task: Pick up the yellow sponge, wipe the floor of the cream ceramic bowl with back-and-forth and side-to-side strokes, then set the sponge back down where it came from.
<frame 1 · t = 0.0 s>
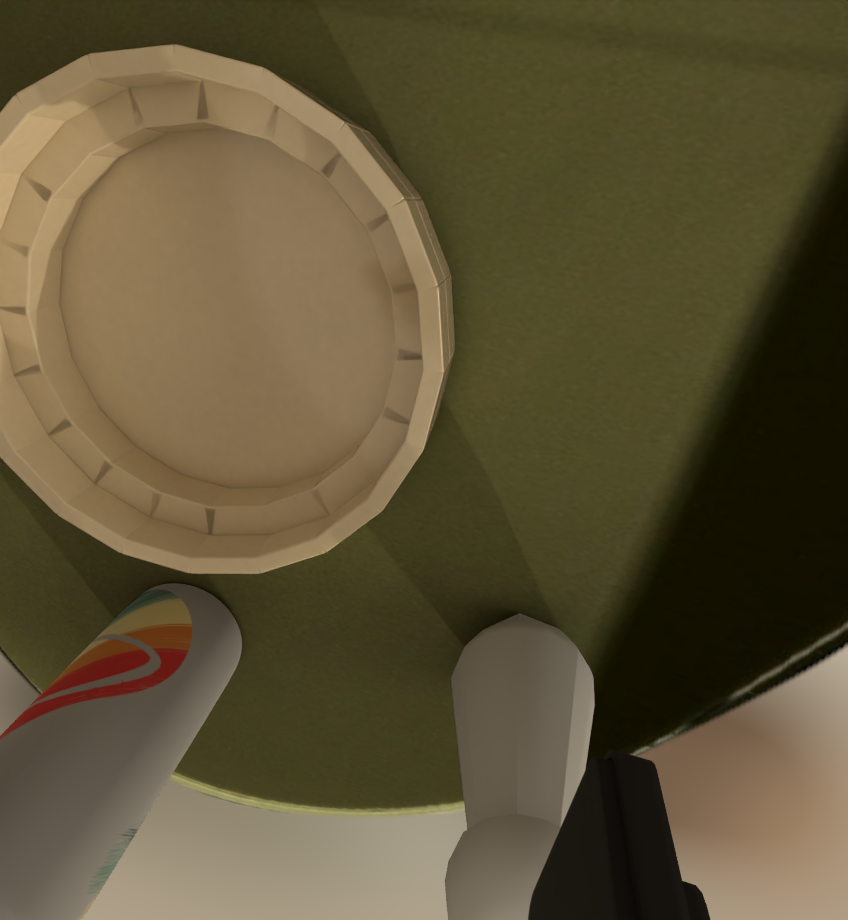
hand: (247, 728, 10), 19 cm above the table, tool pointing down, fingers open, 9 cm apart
striped bottle: (188, 631, 34), on the table
bowl: (233, 321, 28), on the table
salt shaker: (522, 652, 32), on the table
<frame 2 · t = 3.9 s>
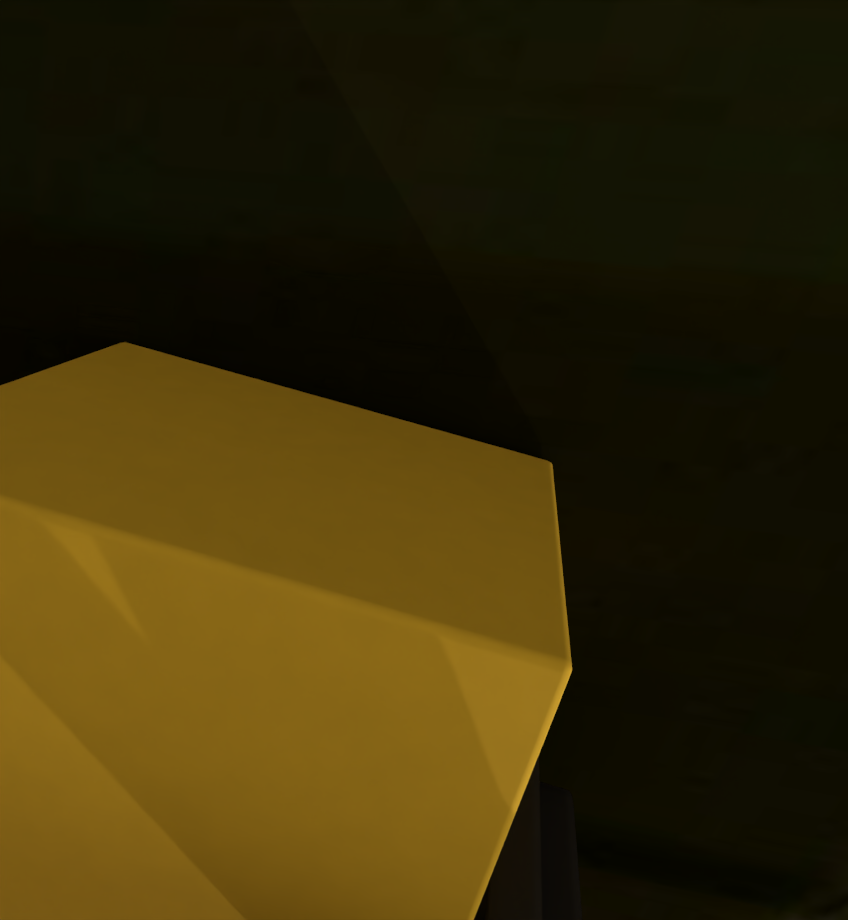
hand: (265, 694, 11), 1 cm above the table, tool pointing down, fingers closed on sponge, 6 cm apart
sponge: (279, 668, 11), on the table, touching gripper
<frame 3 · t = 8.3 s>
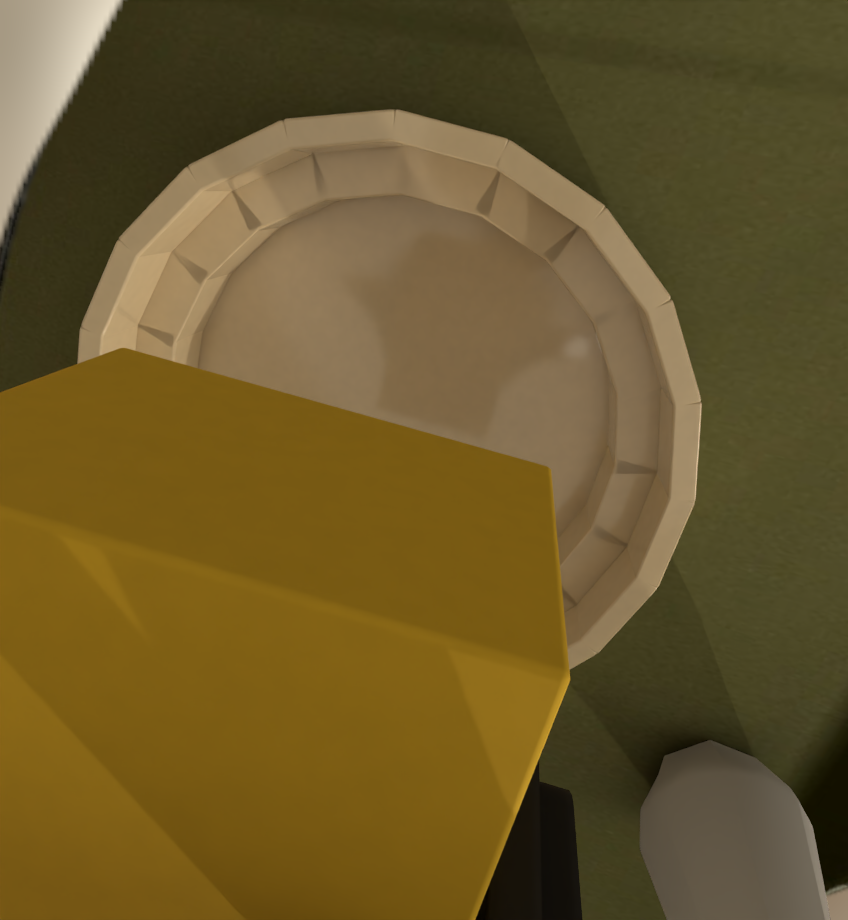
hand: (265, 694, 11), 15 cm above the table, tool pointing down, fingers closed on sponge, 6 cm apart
sponge: (278, 673, 11), point 14 cm above the table, touching gripper
bowl: (398, 412, 24), on the table
salt shaker: (706, 780, 28), on the table
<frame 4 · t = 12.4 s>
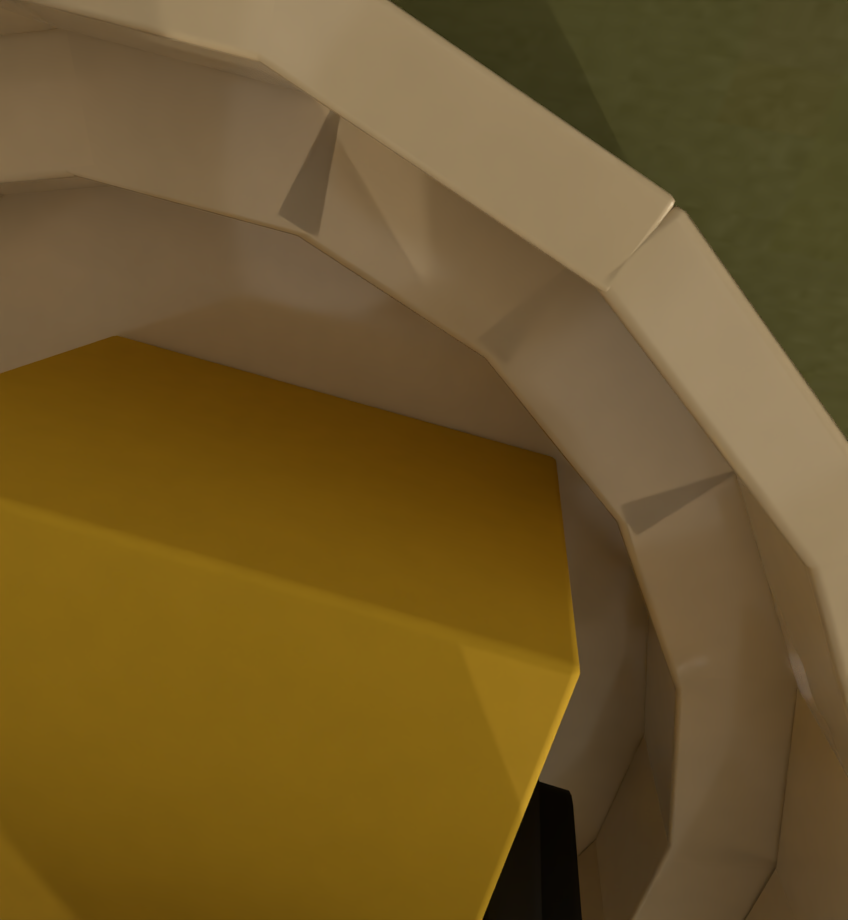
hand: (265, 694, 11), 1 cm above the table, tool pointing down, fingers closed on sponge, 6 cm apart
sponge: (275, 671, 11), point 1 cm above the table, touching gripper
bowl: (202, 640, 12), on the table
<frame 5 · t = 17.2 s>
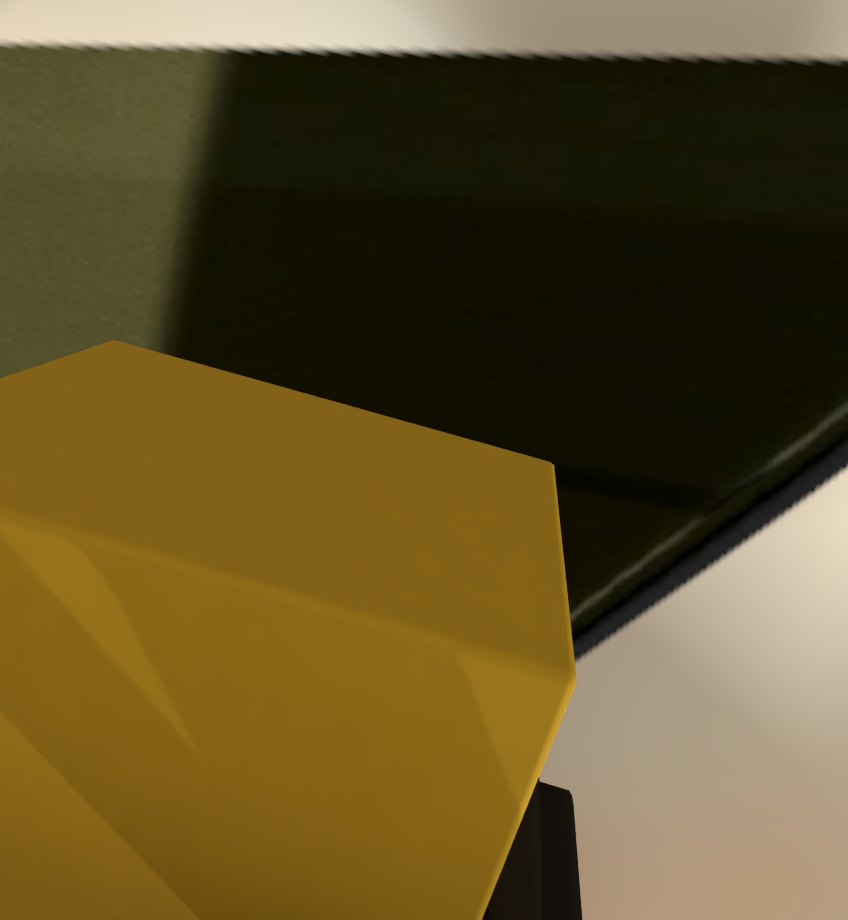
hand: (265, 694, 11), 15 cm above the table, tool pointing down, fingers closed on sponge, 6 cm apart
sponge: (274, 675, 11), point 15 cm above the table, touching gripper
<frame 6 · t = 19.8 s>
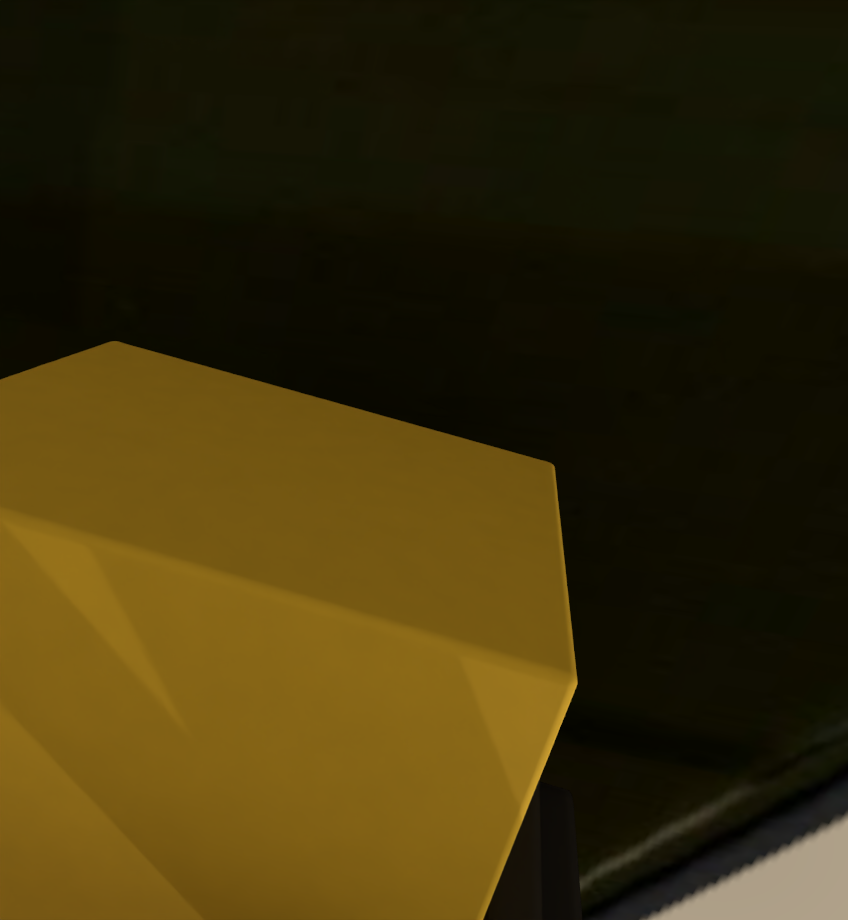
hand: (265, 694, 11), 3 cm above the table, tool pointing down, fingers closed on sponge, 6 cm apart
sponge: (274, 675, 11), point 3 cm above the table, touching gripper
when the fingers open (0 cm above the table, at t = 21.1 s): sponge stays where it is, on the table.
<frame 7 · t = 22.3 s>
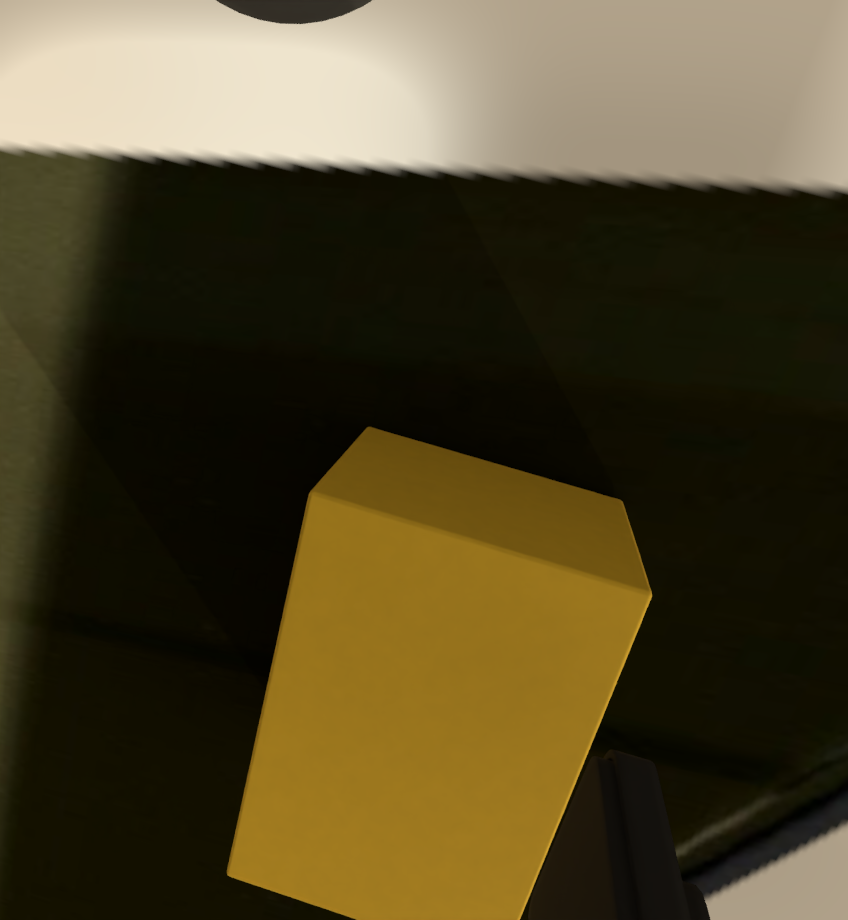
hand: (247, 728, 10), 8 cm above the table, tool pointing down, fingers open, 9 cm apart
sponge: (443, 628, 18), on the table
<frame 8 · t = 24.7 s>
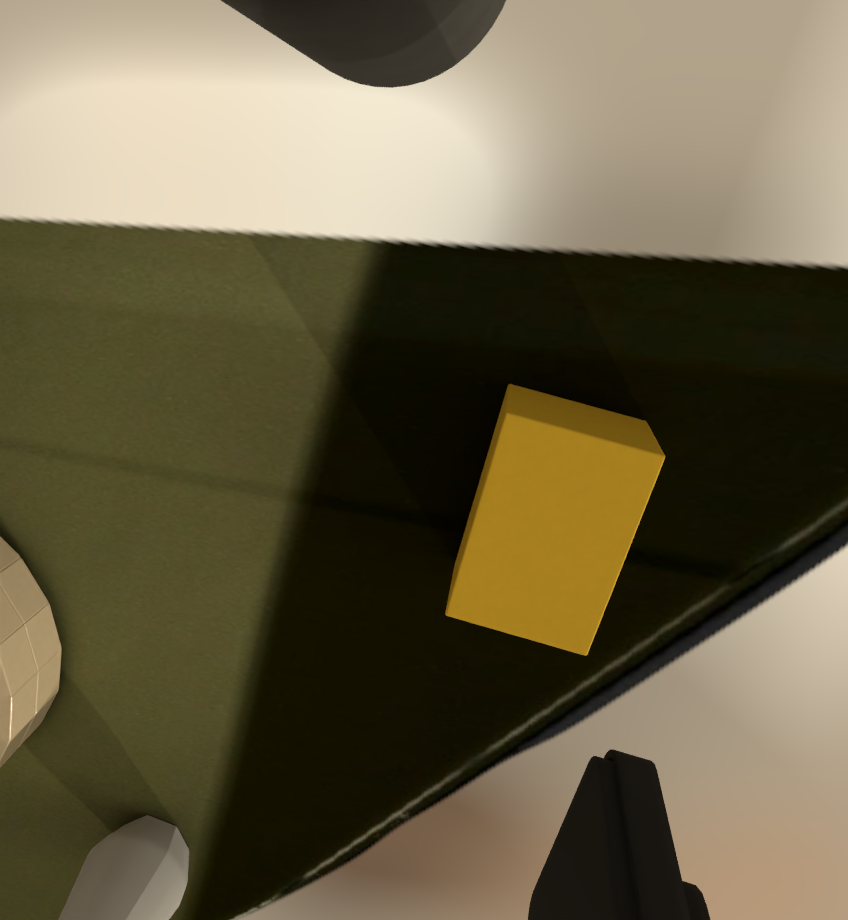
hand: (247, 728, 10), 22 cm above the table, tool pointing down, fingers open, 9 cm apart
sponge: (545, 496, 32), on the table
salt shaker: (156, 840, 43), on the table
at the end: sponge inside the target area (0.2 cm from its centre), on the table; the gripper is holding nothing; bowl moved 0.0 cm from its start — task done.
